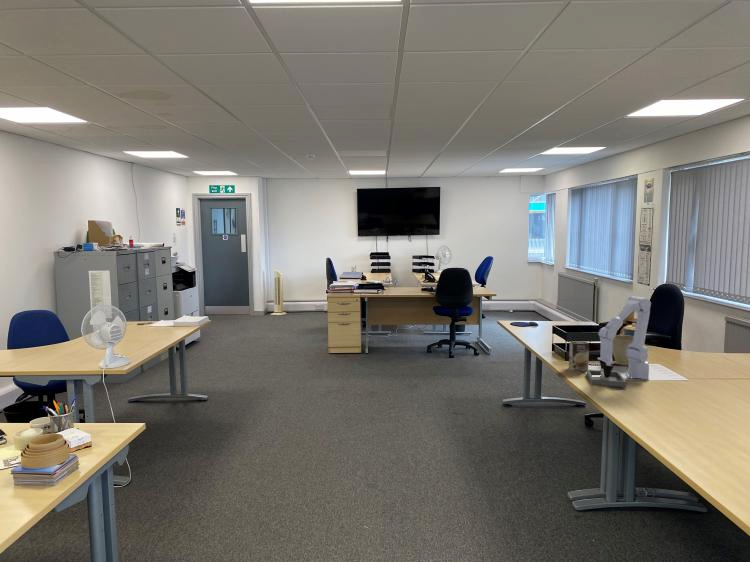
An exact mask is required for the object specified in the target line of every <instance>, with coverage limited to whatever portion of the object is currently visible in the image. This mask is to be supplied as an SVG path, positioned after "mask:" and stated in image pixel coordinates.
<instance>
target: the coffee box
mask: <svg viewBox="0 0 750 562" xmlns="http://www.w3.org/2000/svg"><path fill="white" fill-rule="evenodd" d="M568 357H569V358H568V369H570V370H571V371H572V372H583V371H582V370H589V361H590V360H589V357H590V343H589V342H587V341H577V340H576V341H575V340H572V341H571V340H570V341H569V354H568Z"/></svg>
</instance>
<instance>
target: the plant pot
mask: <svg viewBox="0 0 750 562" xmlns="http://www.w3.org/2000/svg"><path fill="white" fill-rule="evenodd" d="M633 338H634V337H633V336H626V335H623V334H616V336H615V338H614V339H613V349H612V356H613V358H614V361H615V363H616V364H617V365H619V364H621V365H620V366H629V360H628V358H627V356H626V350H627V348H628V345H629V344H631V343H632V342H633ZM635 349H636V348H635Z"/></svg>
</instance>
